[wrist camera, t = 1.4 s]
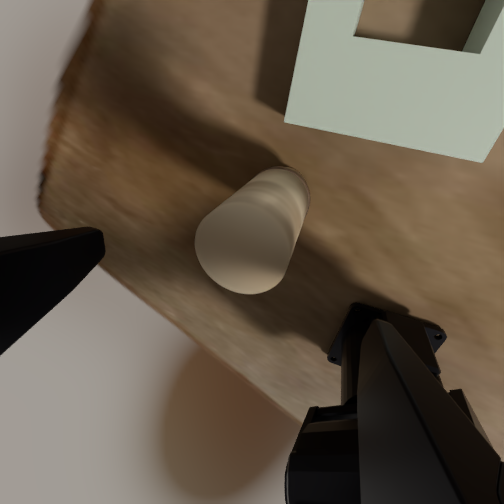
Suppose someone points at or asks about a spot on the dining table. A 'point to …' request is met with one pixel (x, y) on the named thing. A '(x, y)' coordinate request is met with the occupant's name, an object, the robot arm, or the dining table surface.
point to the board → (400, 84)
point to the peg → (254, 231)
